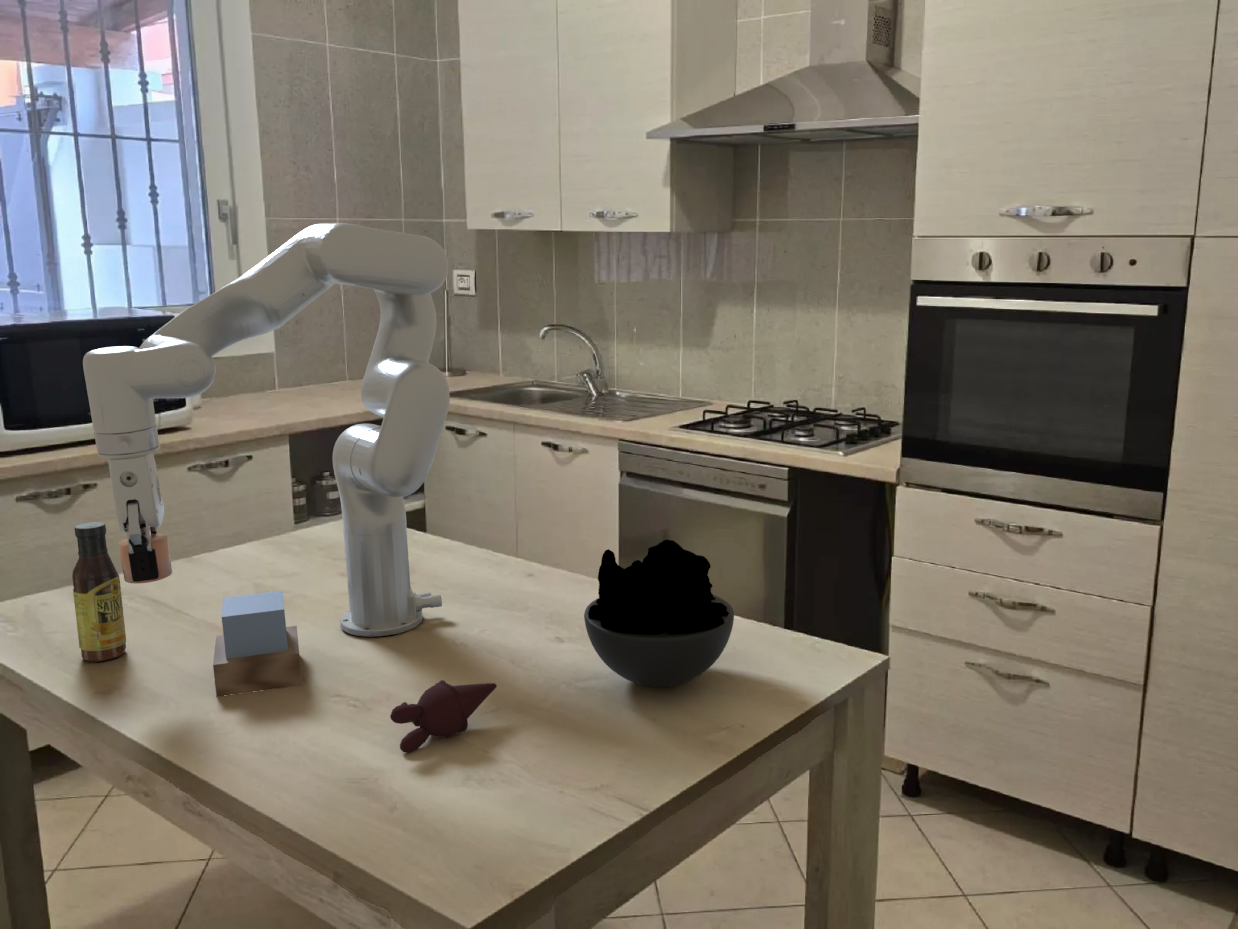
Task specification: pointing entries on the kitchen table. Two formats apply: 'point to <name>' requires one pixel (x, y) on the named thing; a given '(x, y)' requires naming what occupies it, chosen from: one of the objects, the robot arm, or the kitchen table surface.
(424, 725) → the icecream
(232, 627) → the tower middle
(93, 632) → the sauce bottle
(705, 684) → the kitchen table surface
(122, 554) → the terracotta cylinder
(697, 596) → the coal bowl
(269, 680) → the tower base
